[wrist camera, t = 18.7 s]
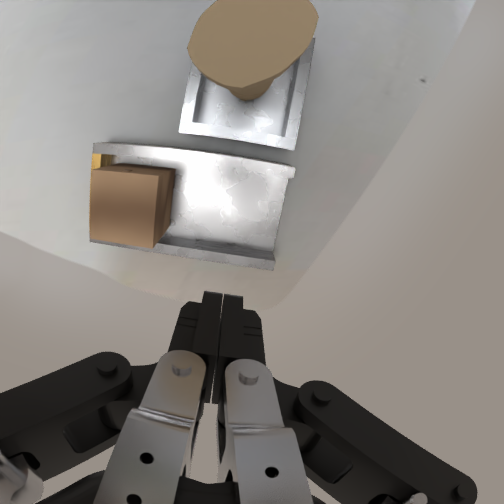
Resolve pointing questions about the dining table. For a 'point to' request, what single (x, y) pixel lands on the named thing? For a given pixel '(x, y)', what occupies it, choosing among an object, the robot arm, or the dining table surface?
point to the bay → (211, 202)
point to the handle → (251, 42)
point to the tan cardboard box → (131, 203)
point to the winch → (248, 108)
